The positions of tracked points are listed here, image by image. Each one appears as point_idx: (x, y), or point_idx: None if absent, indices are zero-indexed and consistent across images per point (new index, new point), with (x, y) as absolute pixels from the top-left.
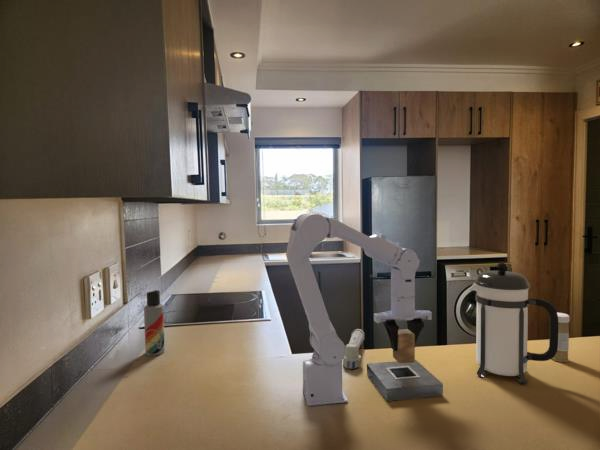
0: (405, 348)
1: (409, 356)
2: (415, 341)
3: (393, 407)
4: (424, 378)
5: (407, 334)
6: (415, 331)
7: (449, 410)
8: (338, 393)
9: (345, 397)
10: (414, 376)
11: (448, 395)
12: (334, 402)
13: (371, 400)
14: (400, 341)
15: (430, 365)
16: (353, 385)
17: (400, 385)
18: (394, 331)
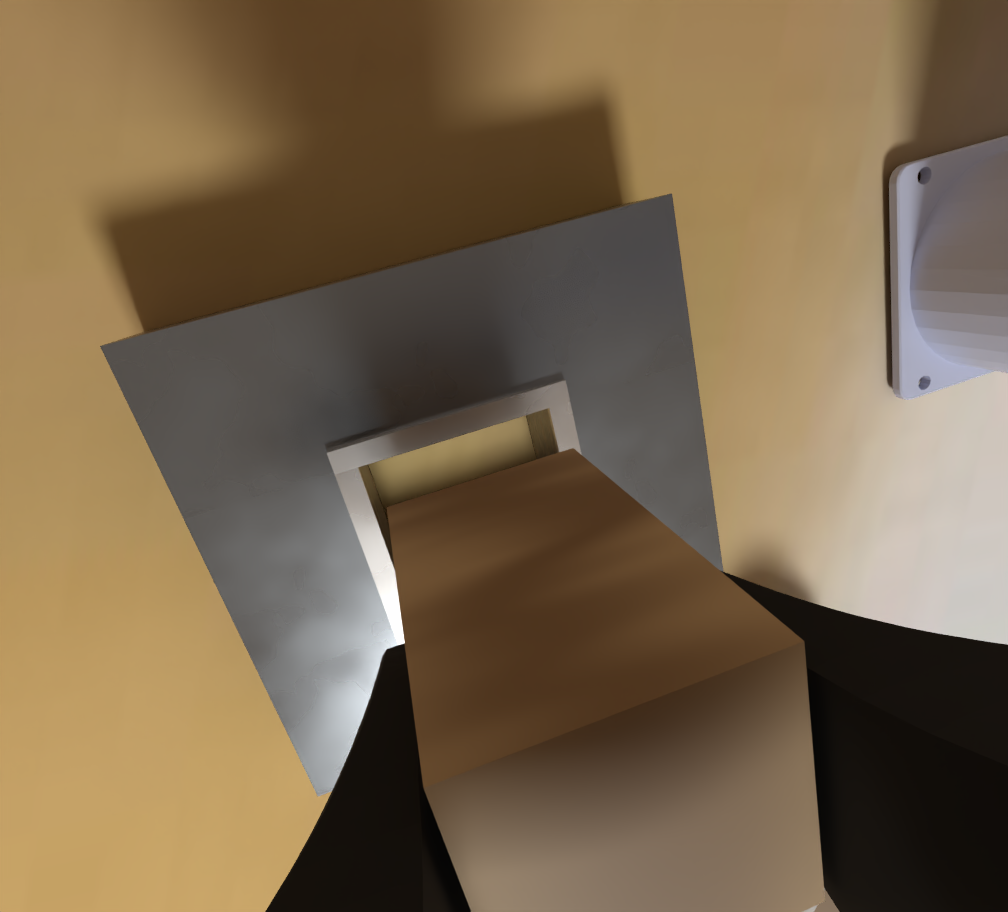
0: (555, 545)
1: (464, 516)
2: (377, 722)
3: (590, 112)
4: (286, 439)
5: (604, 738)
6: (399, 889)
7: (112, 67)
8: (989, 180)
9: (906, 207)
10: (382, 453)
11: (87, 348)
12: (977, 144)
13: (726, 216)
14: (695, 580)
15: (186, 831)
16: (799, 425)
17: (540, 270)
18: (986, 683)
